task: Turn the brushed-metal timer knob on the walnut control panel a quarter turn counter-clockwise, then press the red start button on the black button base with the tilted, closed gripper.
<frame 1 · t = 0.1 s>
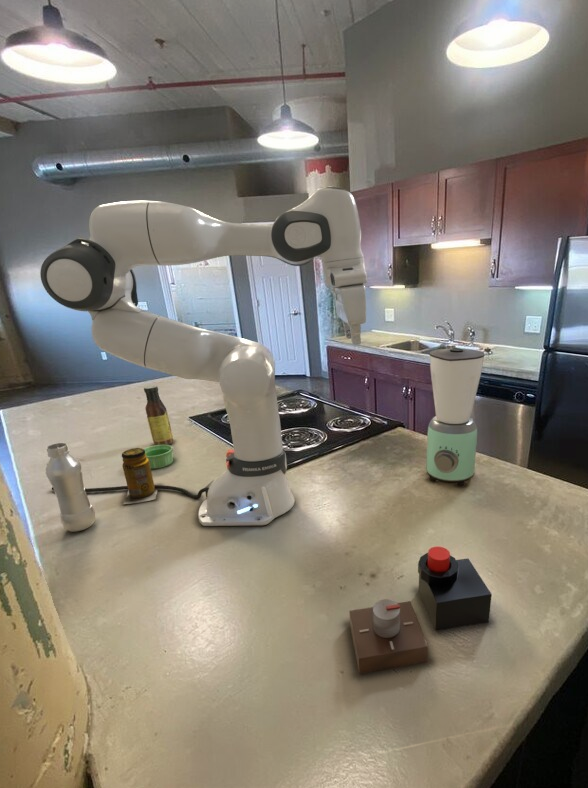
hand: (353, 341, 93), 39 cm above the table, tool pointing down, fingers open, 8 cm apart
plastic bottle: (81, 527, 95), on the table
start button: (438, 559, 69), point 8 cm above the table, slide at 0.1 cm
green blender: (450, 476, 116), on the table
timer panel: (386, 642, 64), on the table
sauce bottle: (163, 444, 142), on the table
black button base: (451, 606, 70), on the table
condiment: (142, 495, 108), on the table
timer knob: (386, 617, 62), point 5 cm above the table, hinge at 0.0°
ramekin: (159, 464, 127), on the table
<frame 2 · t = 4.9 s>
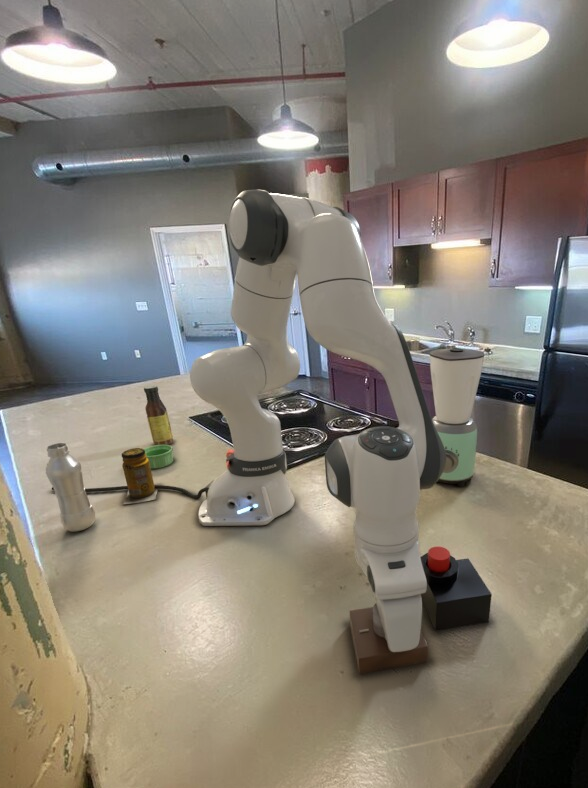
hand: (386, 622, 62), 4 cm above the table, tool pointing down, fingers closed on timer knob, 4 cm apart
timer knob: (386, 617, 62), point 5 cm above the table, hinge at 0.0°, touching gripper
everything else where it was.
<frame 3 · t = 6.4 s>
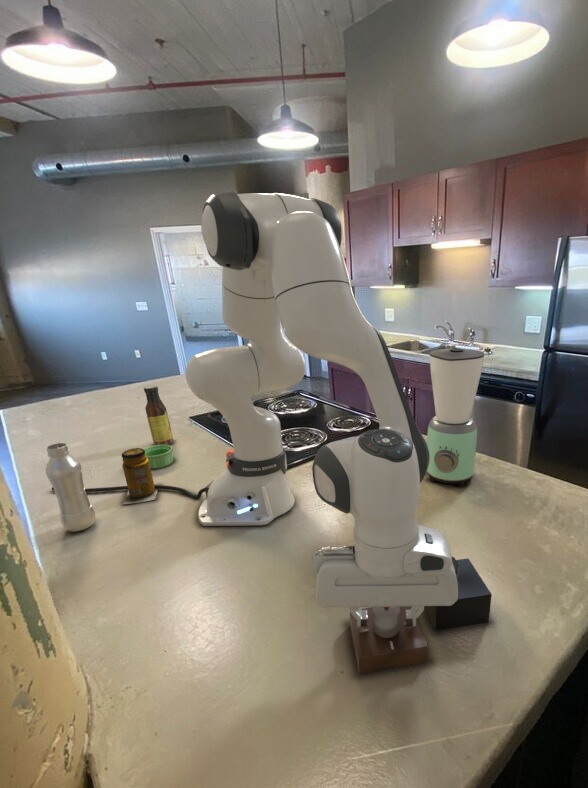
hand: (386, 623, 62), 4 cm above the table, tool pointing down, fingers open, 6 cm apart
timer knob: (386, 617, 62), point 5 cm above the table, hinge at 76.2°
everything else where it was.
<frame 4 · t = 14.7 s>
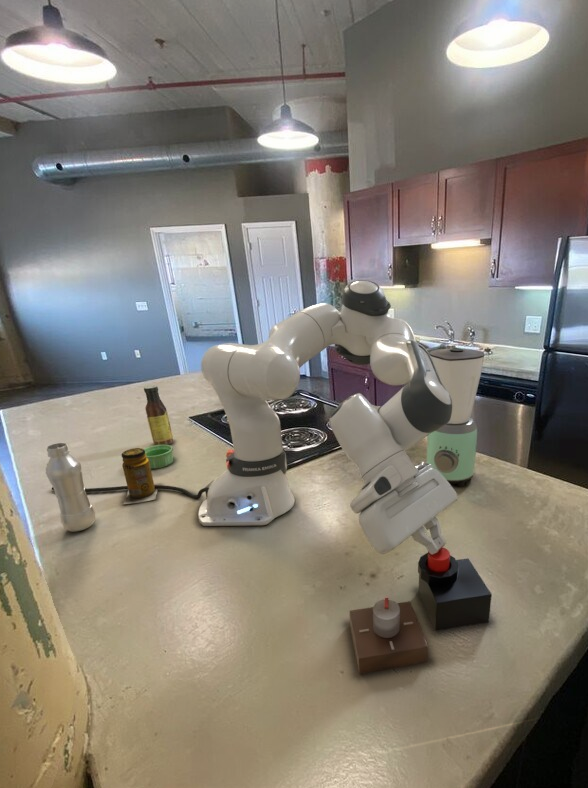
hand: (439, 549, 68), 10 cm above the table, tool tilted 45°, fingers closed, pressing on start button
start button: (438, 559, 69), point 8 cm above the table, slide at 0.1 cm, touching gripper
everything else where it was.
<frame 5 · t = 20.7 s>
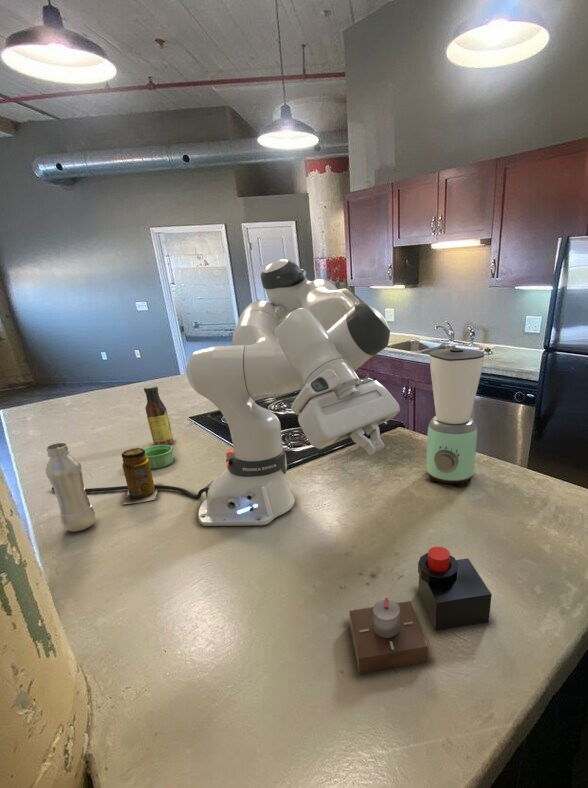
hand: (377, 451, 71), 24 cm above the table, tool tilted 45°, fingers closed
start button: (438, 559, 69), point 8 cm above the table, slide at 0.1 cm
everything else where it was.
at the end: timer knob at +76° (first picture: +0°); start button pushed in 1.3 cm at the most during the clip, back to where it started at the end; start button slide at 0.1 cm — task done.
